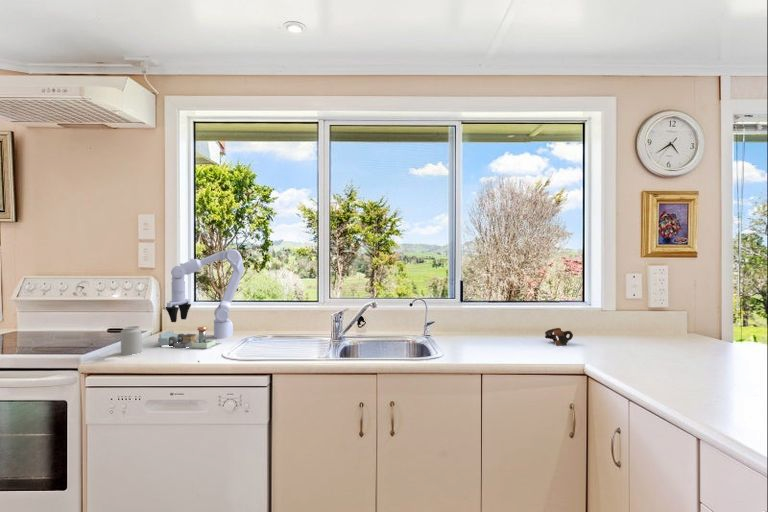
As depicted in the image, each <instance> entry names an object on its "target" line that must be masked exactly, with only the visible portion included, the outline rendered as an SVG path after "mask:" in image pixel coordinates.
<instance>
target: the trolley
mask: <svg viewBox="0 0 768 512" xmlns="http://www.w3.org/2000/svg"><path fill="white" fill-rule="evenodd" d="M183 335H186V334H185V333H175V330H170V331H166V332H162V333H159V335H158V336H159V337H158V338H157V340H158V341H157V342H158V346H161V345H169V346H173V344H176V343H177V342H183Z"/></svg>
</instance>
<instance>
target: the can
mask: <svg viewBox="0 0 768 512" xmlns="http://www.w3.org/2000/svg"><path fill="white" fill-rule="evenodd" d="M121 329H122V330H121V331H120V355H121V356H133V355H132V354H136V355H138V354H137V353H140V354H141V352H142V353H143V349H142V347H143V345H142V339H143V338H142V329H140V326H138V325H133V326H130V325H129V326H126V327H125V326H124V327H122V328H121Z"/></svg>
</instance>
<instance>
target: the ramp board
mask: <svg viewBox="0 0 768 512" xmlns="http://www.w3.org/2000/svg"><path fill="white" fill-rule="evenodd" d="M221 344H222V342H216V345H215V346H213V347H210V348H208V349H207V350H209V349H211V348H214V347H216V346H218V345H221ZM173 347H175V348H174V349H183V348H186V347H189V348H187V349H186V350H194V349H193V346H192V342H178V343H176V344H173Z"/></svg>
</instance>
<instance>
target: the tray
mask: <svg viewBox="0 0 768 512" xmlns="http://www.w3.org/2000/svg"><path fill="white" fill-rule="evenodd" d="M216 340H217V339H215V340H213V339H206V343H199V340H198V341H196V342H195V343H192V346H193V349H192V350H209V349H211V348H214V347H216V346H217V345H216V343H217V341H216ZM215 345H216V346H215ZM213 346H214V347H213ZM210 347H211V348H210ZM208 348H209V349H208Z"/></svg>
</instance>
